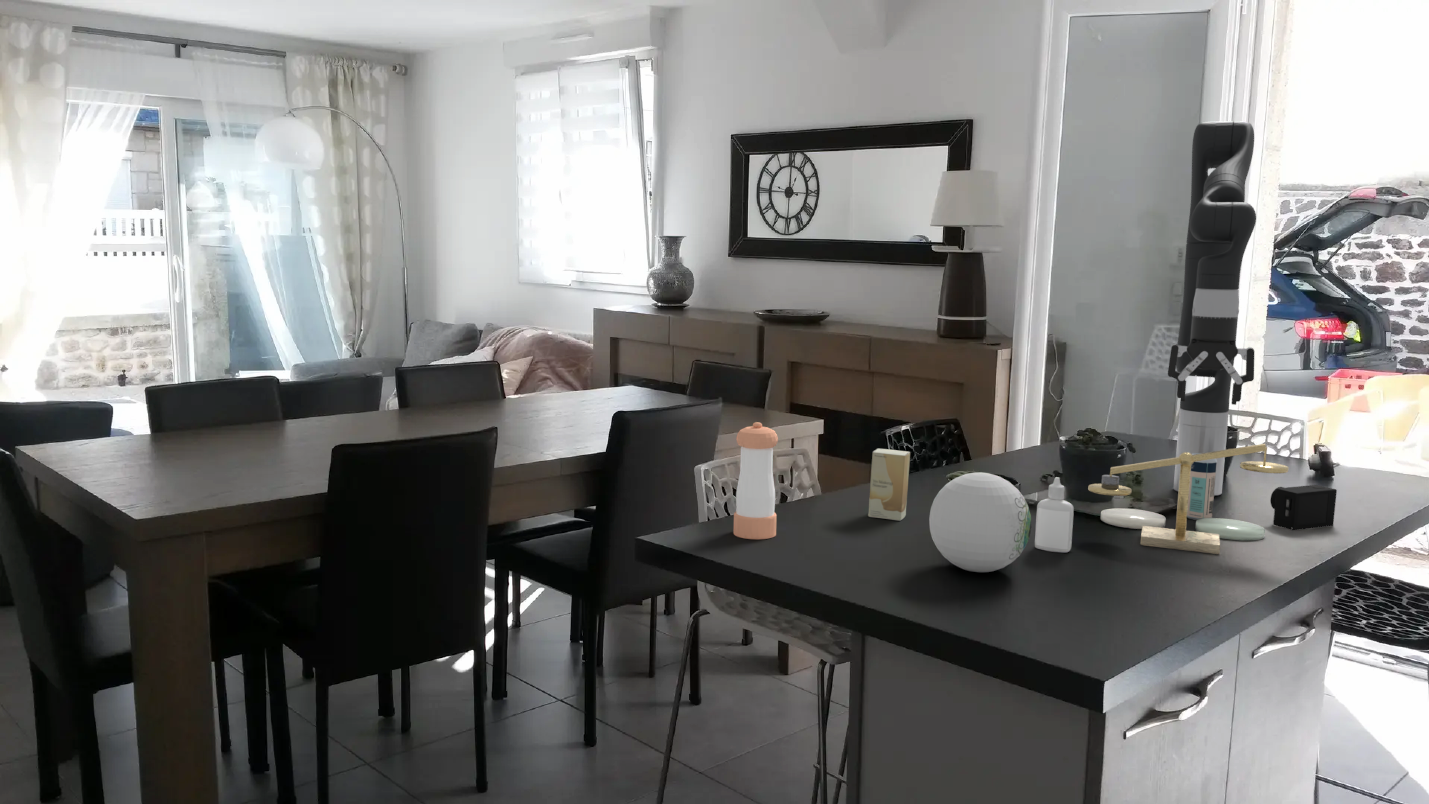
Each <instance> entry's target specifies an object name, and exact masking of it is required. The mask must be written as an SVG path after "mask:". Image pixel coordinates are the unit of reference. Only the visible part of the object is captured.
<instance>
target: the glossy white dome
mask: <svg viewBox="0 0 1429 804" xmlns="http://www.w3.org/2000/svg"><path fill="white" fill-rule="evenodd" d="M1100 520H1101V521H1102V522H1103V523H1105V524H1108V525H1112V526H1115V527H1119V528H1125V529H1133V530H1134V529H1135V530H1136V529H1137V530H1142V528H1143V526H1149V527H1158V528H1165V527H1166V521H1167V519H1166V517H1165V516H1164V515H1162V514H1159V513H1157V512H1153V511H1148V510H1144V509H1143V510H1142V509H1137V508H1124V507H1123V508H1118V507H1116V508H1114V507H1113V508H1106V509H1103V510H1101V512H1100Z"/></svg>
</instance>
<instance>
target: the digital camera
mask: <svg viewBox="0 0 1429 804" xmlns="http://www.w3.org/2000/svg"><path fill="white" fill-rule="evenodd" d="M1337 492H1338V489H1337V488H1336V489H1335V488H1332V487H1328V486H1322V485H1319V484H1311V485H1310V484H1309V485H1301V486H1300V485H1299V486H1290V487H1289V486H1288V487H1287V486H1286V487H1285V486H1278V487H1276V488H1275V489H1274V490H1273V491H1272V493H1271V495H1270V505H1271V507H1272V509H1273V510H1274V511H1273V512H1274V513H1273V521H1272V522H1273V526H1275V527H1279V528H1284V529H1287V530H1289V531H1290V530H1291V531H1300V530H1301V531H1302V530H1308V529H1318V528H1327V527H1333V526H1334V520H1335V511H1336V501H1337V494H1338V493H1337Z"/></svg>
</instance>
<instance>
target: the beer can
mask: <svg viewBox="0 0 1429 804" xmlns="http://www.w3.org/2000/svg"><path fill="white" fill-rule="evenodd" d="M1195 454H1201V453H1192V455H1195ZM1216 464H1217V460H1216V459H1209V460H1203V461H1196V462H1193V464H1192V465H1191V473H1190V485H1189V498H1188V510H1187V519H1189V520H1194V521H1197V520H1199V519H1205V518H1213V510H1214V500H1215V499H1214V497H1215V495H1214V487H1215V476H1216Z"/></svg>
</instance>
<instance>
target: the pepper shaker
mask: <svg viewBox="0 0 1429 804" xmlns="http://www.w3.org/2000/svg"><path fill="white" fill-rule="evenodd" d="M735 440H736V443H737V445H738V446H739V447H740V469H739V476H738V483H737V488H736V492H735V497H736V498H735V499H736V500H735V501H736V502H735V503H736V506H735V508H736V510H735V511H734V512H733V535H734V536H735V537H737V538H741V539H748V540H766V539H768V540H769V539H771V538H774V537H777V516H778V515H777V513H776V512H775V508H776V505H775V504H776V490H775V482H774V481H775V480H774V474H773V462H774V461H773V458H774V457H773V456H774V447H776V446H777V444H778V441H779V437H778V434H777V433H776V431H775V430H774V429H772V428H770V427H766V426H763V423H762V422H760V421H759V422H757V421H755V422H753V424H752V425H751V426H746V427H743V428H741V429H740V430H739V431H738V432H737V435H736V439H735Z"/></svg>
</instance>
